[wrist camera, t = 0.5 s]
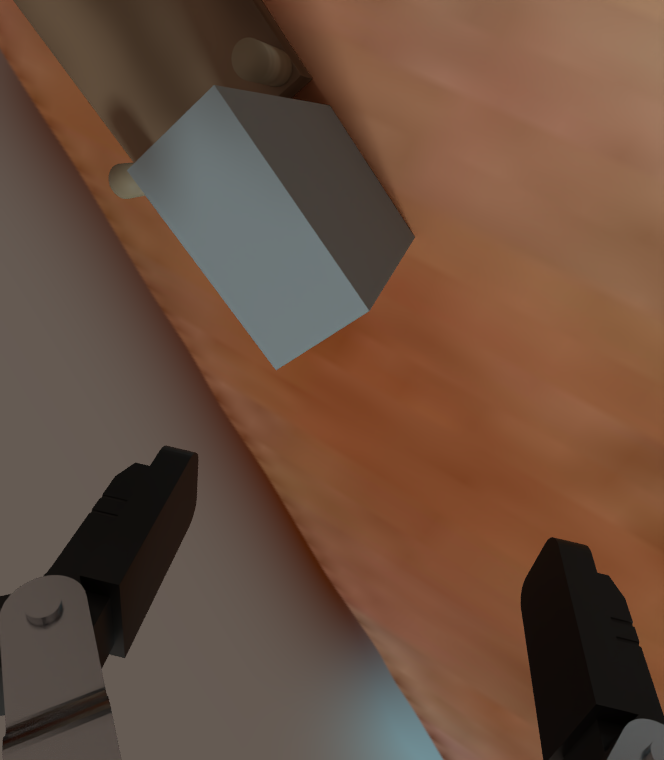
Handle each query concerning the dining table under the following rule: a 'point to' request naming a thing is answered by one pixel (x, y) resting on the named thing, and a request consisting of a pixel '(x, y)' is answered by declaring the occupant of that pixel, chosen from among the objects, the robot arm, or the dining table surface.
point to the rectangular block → (276, 214)
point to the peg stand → (162, 60)
